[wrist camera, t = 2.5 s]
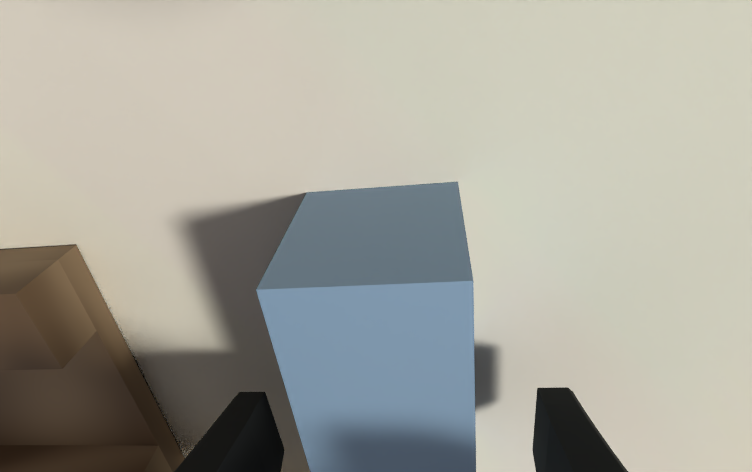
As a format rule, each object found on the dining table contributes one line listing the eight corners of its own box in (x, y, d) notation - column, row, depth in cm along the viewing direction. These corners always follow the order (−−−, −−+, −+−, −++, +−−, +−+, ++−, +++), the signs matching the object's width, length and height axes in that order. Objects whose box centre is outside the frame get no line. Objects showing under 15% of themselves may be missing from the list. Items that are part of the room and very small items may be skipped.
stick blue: (466, 483, 14) (478, 624, 11) (368, 481, 14) (354, 617, 11) (457, 177, 9) (473, 280, 6) (309, 187, 10) (255, 290, 7)
